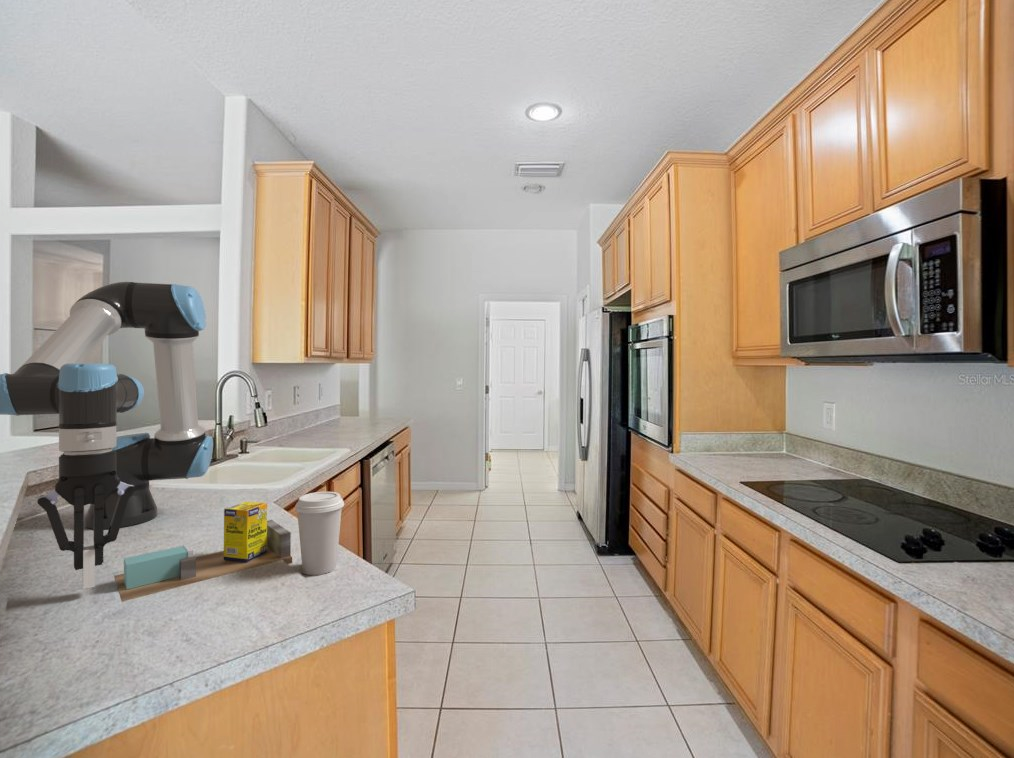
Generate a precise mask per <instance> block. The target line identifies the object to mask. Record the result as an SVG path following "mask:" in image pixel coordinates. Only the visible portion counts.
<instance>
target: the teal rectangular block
mask: <svg viewBox="0 0 1014 758" xmlns="http://www.w3.org/2000/svg"><path fill="white" fill-rule="evenodd" d="M193 556H194V550H193V548H192V547H191V546H190V545H189V544H188V543H187V544H183V545H180V546H175V547H170V548H166V549H161V550H157V551H152V552H147V553H142V554H138V555H137V554H136V555H132V556H128V557H123V574H124V583H125V586H126V589H131V588H135V587H139V586H143V585H147V584H151V583H155V582H159V581H163V580H167V579H171V578H175V577H179V559H184V558H188V557H193Z"/></svg>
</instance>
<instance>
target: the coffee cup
mask: <svg viewBox="0 0 1014 758" xmlns="http://www.w3.org/2000/svg"><path fill="white" fill-rule="evenodd" d="M344 506H345V501H344V499H343V498H342V496H341V494H340V493H339V492H335V491H317V492H316V491H315V492H310V493H306V494H305V493H304V494H303V495H301V496H299V497H298V500H297V502H296V503H295V506H294V511H295V512H296V513H297V522H298V523H297V524H298V533H299V534H298V535H299V544H300V554H301V566H302V568H301V569H302V573H303V574H305V575H307V576H319V575H320V574H321V575H325V573H326V574H328V572H329V573H331V572H333V571H335V570H336V568H337V564H338V563H337V562H338V553H339V541H340V540H339V539H340V531H341V518H342V509H343V507H344ZM332 570H333V571H332Z"/></svg>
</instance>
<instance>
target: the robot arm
mask: <svg viewBox="0 0 1014 758" xmlns="http://www.w3.org/2000/svg"><path fill="white" fill-rule="evenodd" d="M205 309H206V308H205V305H204V301H203V299H202V297H201V295H200V292H198V290H197V289H195V288H194V287H192V286H188V285H182V284H174V283H173V284H172V283H170V284H169V283H151V282H136V281H135V282H134V281H121V282H120V281H119V282H113V283H110V284H106V285H103V286H100V287H98V288H96V289H94V290H92V291H89V292H88V293H86V294H85V295H82V297H80V298H79V299H78V300H76V302H74V303H73V304H72V306H71V308H70V310H69V317H67V319H66V320H64V322H63V323H62V324H61V325H59V327H58V328H57V329H56V330H55V331H54V332H53V333H52V334H51V335H50V336H49V337H48V339H46V340H45V341H44V342H43V343H42V345H40V347H39V348H37V349H36V351H35V352H33V353H32V355H30V357H29V358H28V359H27V360H25V362H24V363H22V365H21V366H20V367H19V368H18V369H17V370H16V371H15V372H14V373H8V372H4V373H1V374H0V415H6V416H8V415H10V416H15V417H16V416H18V417H19V416H29V415H30V416H31V415H33V416H36V415H37V416H38V415H39V416H40V415H58V418H59V419H58V421H59V422H58V423H59V424H58V451H59V452H62V453H61V454H60V456H59V457H58V480H57V483H55V486H54V489H53V490H51V491H50V492H48V493H46V494H43V495H42V494H41V495H39V496H38V498H37V504H38V505H39V507H41V508H42V509H43V510H44V511H45V512H46V515H47V517H48V520H49V523H50V526H51V529H52V531H53V535H54V537H55V539H56V542H57V545H58V548H59V550H60V552H61V551H63V552H65V551H70V552H73V568H74V570H75V571H79V570H82V588H83V590H85V589H90V588H93V587H96V580H95V579H96V566H101V565H103V564H104V547H105V545H107V544H110V543H113V542H115V541H117V538H118V535H119V532H120V529H121V528H124V527H131V526H135V525H139V524H142V523H146V522H148V521H151V520H153V519H155V518H157V516H158V506H157V504H156V501H155V498H153V495H152V492H151V490H150V489H151V488H150V481H161V480H163V481H164V480H180V479H183V480H184V479H185V480H188V479H192V478H193V479H194V478H200V477H203V476H204V475H206V474H207V472H208V470H209V468H210V466H211V462H212V456H213V452H214V451H213V450H214V439H213V437H212V436H210V435H206V430H205V428H204V427H203V426H201V425H200V424H199V419H198V418H199V417H198V416H199V414H198V404H197V402H198V401H197V400H198V399H197V388H196V374H195V373H196V371H195V357H194V355H195V354H194V345H193V344H194V341H196V340H197V339H198V338H199V337H200V335H199V334H200V331H203V330H205V328H206V325H207V322H206V320H207V318H206V316H207V315H206V310H205ZM126 328H127V329H128V328H130V329H133V328H134V329H144V334H145V335H144V337H145V338H146V339H148V340H149V341H151V342H152V345H153V354H154V355H153V357H154V366H155V367H154V368H155V377H156V378H155V379H156V389H157V401H158V402H157V403H158V411H159V412H158V414H159V421H160V422H159V423H160V428H159V429H158V430H157V431H156V432H155V433H154V435H153V436H154V437H153V438H152V437H151V435H150V434H149V432H144V433H143V432H142V433H141V432H140V433H132V434H126V435H119V436H117V435H118V434H117V423H118V422H117V418H118V417H117V413H121V414H123V413H126V412H129V411H130V410H132V409H135V408H136V407H138V406H140V404H141V403H142V401H143V399H144V396H145V389H144V386H143V385H142V383H141V382H140V380H138V379H136V378H135V377H133V376H130V375H127V374H122V373H119V374H118V373H117V368H116V367H115V365H113V364H111V363H87V362H88V361H89V359H90V358H91V357H92V355H93V354H94V353H95V351H96V350H97V349H98V347H100V345H101V344H102V343H103V342H104V340H105V339H106V338H107V336H110V335H113V334H115V333H117V332H118V330H119V329H126ZM58 496H60V497H61V498H62V499H63V500H65V502H67V503H68V504H69V505H71V506H72V507H73V540H69V539H68V538H69V537H68V536H67V532H66V530H65V527H64V524H63V522H62V519H61V516H60V512H59V510H58V507H57V503H58V502H59V500H58ZM88 505H89V507H88V510H87V512H86V514H85V513H84V512H85V506H88ZM84 514H85V515H84ZM84 516H85V517H84ZM84 527H85V528H87V529H92V530H93V545H88V546H84V543H85V541H84V539H85V538H84V537H85V535H84V534H85V533H84V532H85V531H84V530H85V529H84ZM104 530H107V533H106V534H104Z"/></svg>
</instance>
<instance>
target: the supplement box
mask: <svg viewBox="0 0 1014 758" xmlns="http://www.w3.org/2000/svg"><path fill="white" fill-rule="evenodd" d="M267 521H268V503H267V502H259V501H258V502H257V501H256V502H255V501H244V502H241V503H238V504H235V505H232V506H230V507H226V508H225V507H224V509H223V551H224V560H228V561H237V562H249V561H250V560H252V559H254V558H256V557H258V556H260V555H262V554H264V553H266V552H267Z"/></svg>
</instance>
